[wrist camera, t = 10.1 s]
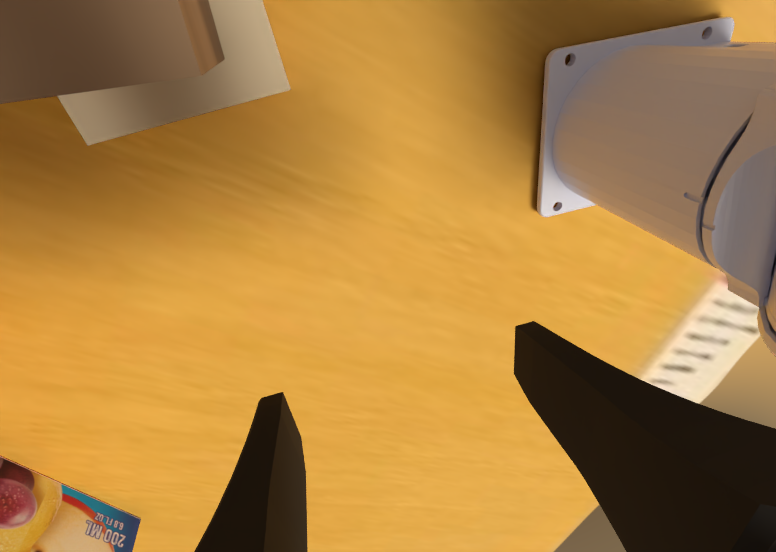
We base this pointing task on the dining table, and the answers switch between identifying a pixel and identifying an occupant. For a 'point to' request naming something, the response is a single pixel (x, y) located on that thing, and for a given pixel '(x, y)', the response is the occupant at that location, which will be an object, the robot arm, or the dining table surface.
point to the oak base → (190, 81)
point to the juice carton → (57, 516)
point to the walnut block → (101, 45)
